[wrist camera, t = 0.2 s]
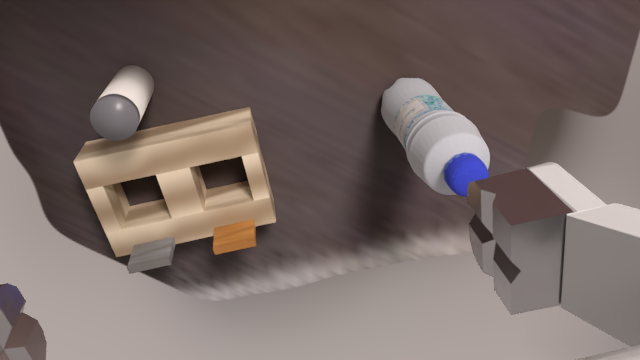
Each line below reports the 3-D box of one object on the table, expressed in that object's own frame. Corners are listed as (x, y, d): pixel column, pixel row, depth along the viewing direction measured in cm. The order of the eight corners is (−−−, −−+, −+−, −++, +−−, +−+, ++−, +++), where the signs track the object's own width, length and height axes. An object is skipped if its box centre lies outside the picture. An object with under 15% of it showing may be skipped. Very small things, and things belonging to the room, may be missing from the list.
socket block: (86, 141, 57) (61, 180, 49) (250, 106, 58) (251, 139, 50) (124, 232, 63) (108, 280, 55) (273, 199, 63) (278, 242, 56)
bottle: (392, 61, 57) (459, 133, 40) (444, 84, 59) (529, 162, 42) (365, 115, 60) (416, 205, 42) (415, 135, 62) (483, 229, 44)
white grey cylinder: (108, 69, 54) (82, 103, 45) (147, 61, 54) (129, 93, 45) (122, 106, 56) (100, 144, 47) (159, 98, 56) (144, 135, 47)
